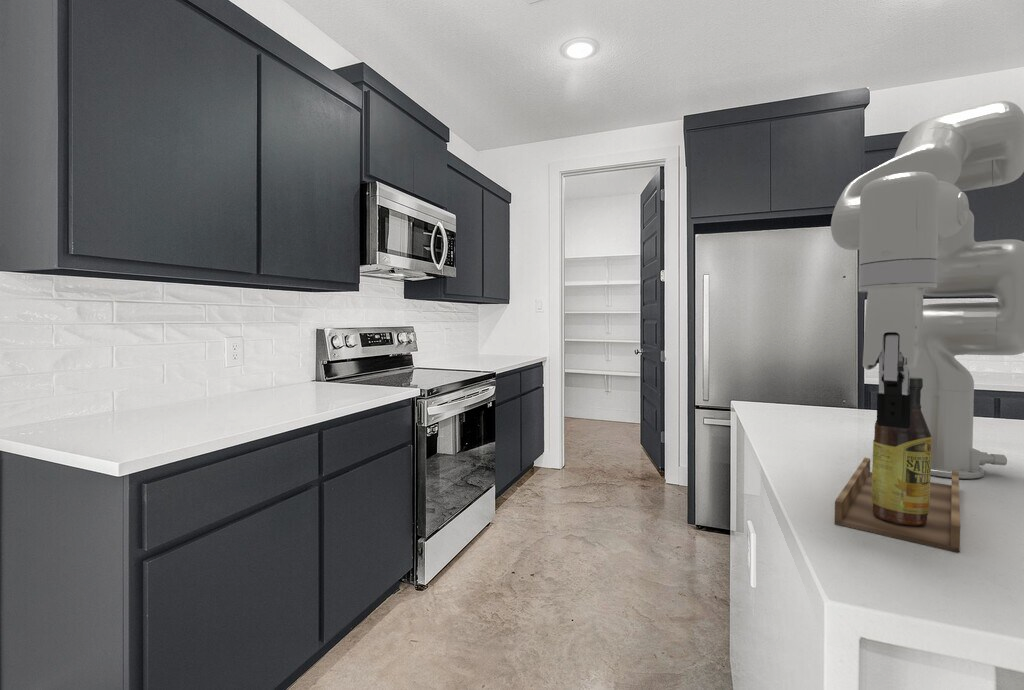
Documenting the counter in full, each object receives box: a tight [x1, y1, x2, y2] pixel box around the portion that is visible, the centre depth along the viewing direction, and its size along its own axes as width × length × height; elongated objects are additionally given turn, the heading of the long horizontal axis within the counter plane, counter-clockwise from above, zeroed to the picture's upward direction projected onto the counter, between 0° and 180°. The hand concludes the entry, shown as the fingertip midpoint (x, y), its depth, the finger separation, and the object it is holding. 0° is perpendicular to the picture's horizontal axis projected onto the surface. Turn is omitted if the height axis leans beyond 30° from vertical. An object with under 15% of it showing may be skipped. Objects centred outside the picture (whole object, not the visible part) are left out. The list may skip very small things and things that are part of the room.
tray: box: [834, 457, 961, 553], centre depth 72 cm, size 30×13×3 cm, turn 137°
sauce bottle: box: [871, 376, 932, 526], centre depth 65 cm, size 6×6×20 cm
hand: (893, 425), depth 59 cm, fingers closed
